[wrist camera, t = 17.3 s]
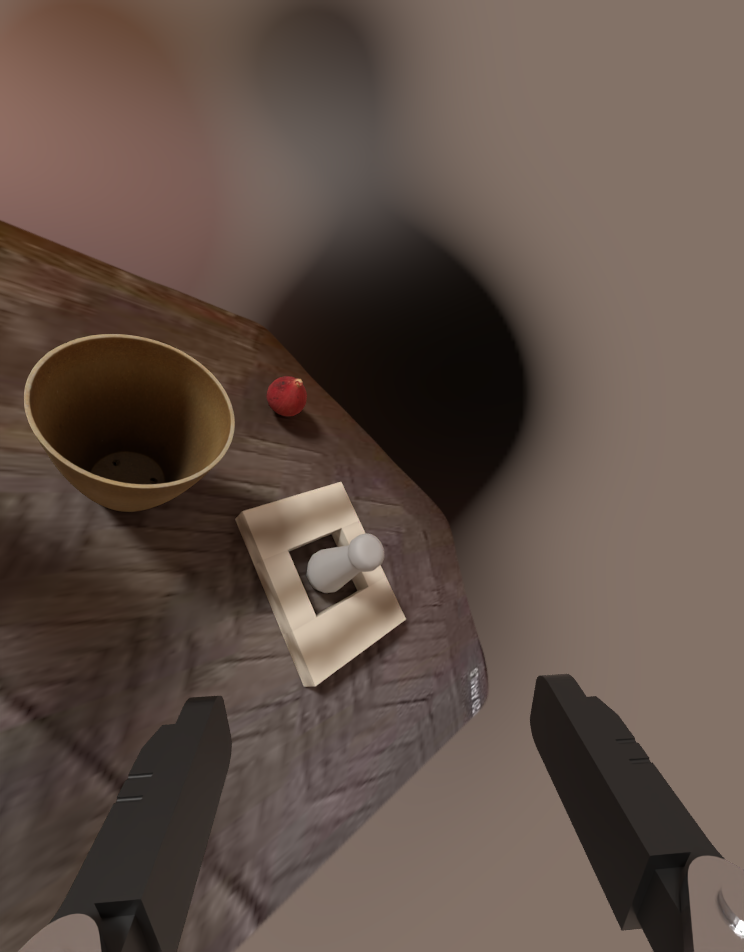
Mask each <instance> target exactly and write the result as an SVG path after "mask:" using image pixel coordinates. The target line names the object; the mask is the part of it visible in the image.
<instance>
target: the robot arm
mask: <svg viewBox="0 0 744 952" xmlns="http://www.w3.org/2000/svg"><path fill="white" fill-rule="evenodd" d="M530 725H531V731H532V736H533V739H534V742H535V744H536V747H537V749H538V751H539V754H540V756H541V758H542V760H543V762H544V764H545V766H546V769H547V771H548V773H549V775H550V777H551V779H552V781H553V784H554V786H555V788H556V790H557V792H558V794H559V797H560V799H561V801H562V803H563V805H564V807H565V809H566V811H567V814H568V816H569V818H570V820H571V822H572V825H573V827H574V829H575V831H576V833H577V835H578V837H579V840H580V842H581V844H582V846H583V848H584V850H585V852H586V855H587V857H588V859H589V861H590V863H591V865H592V868H593V870H594V872H595V874H596V876H597V878H598V880H599V882H600V885H601V887H602V889H603V891H604V893H605V895H606V898H607V900H608V902H609V904H610V906H611V908H612V910H613V913H614V915H615V917H616V919H617V921H618V923H619V925H620V927H621V930H632V929H643V931H644V933H645V935H646V937H647V939H648V941H649V943H650V945H651V947H652V949H653V951H652V952H744V870H743V869H742V868H740V867H738V866H737V865H735V864H733V863H731V862H729V861H727V860H725V859H724V858H723V857H722V856H721V854H720V853H719V852H718V851H717V850H716V849H715V847H714V846H713V845H712V844H711V842H710V841H709V840H708V838H707V837H706V836H705V834H704V833H703V831H702V830H701V829H700V827H699V826H698V824H697V823H696V822H695V820H694V819H693V818H692V816H691V815H690V813H689V812H688V811H687V809H686V808H685V807H684V805H683V804H682V802H681V801H680V800H679V798H678V797H677V796H676V794H675V793H674V791H673V790H672V789H671V787H670V786H669V785H668V783H667V782H666V780H665V779H664V778H663V776H662V775H661V773H660V772H659V771H658V769H657V768H656V767H655V765H654V764H653V763H651V762H650V760H649V757H648V756H647V754H646V753H645V751H644V750H643V749H642V747H641V746H640V744H639V743H636V741H635V738H634V736H633V735H632V733H631V732H630V731H629V730H628V728H627V727H626V725H625V724H624V722H623V721H622V720H621V718H620V717H619V716H618V715H617V714H616V713H615V712H614V711H613V710H612V709H610V708H609V707H608V706H607V705H606V704H605V703H603V702H602V701H601V700H600V699H599V698H597V697H596V696H593V697H586V695H585V694H584V692H583V691H582V689H581V688H580V686H579V685H578V683H577V682H576V681H575V679H574V678H573V677H572V676H571V675H569V674H558V675H543V676H538V677H537V680H536V685H535V691H534V697H533V703H532V709H531V715H530ZM231 748H232V741H231V734H230V729H229V724H228V719H227V714H226V710H225V705H224V700H223V698H222V696H209V697H193V698H189V699H188V700H187V701H186V703H185V704H184V706H183V708H182V711H181V713H180V715H179V717H178V719H177V722H176V724H171V725H162V726H161V727H160V728H159V730H158V731H157V732H156V733H155V734H154V735H153V736H152V737H151V739H150V740H149V741H148V742H147V743H146V744H145V745H144V746H143V748H142V749H141V751H140V753H139V755H138V757H137V759H136V761H135V763H134V765H133V767H132V769H131V771H130V773H129V777H128V779H127V780H126V781H125V783H124V784H123V786H122V788H121V790H120V792H119V794H118V796H117V801H116V803H114V804H113V806H112V808H111V810H110V812H109V814H108V816H107V818H106V820H105V822H104V824H103V826H102V828H101V830H100V832H99V834H98V835H97V837H96V839H95V841H94V843H93V845H92V847H91V849H90V851H89V853H88V855H87V857H86V859H85V861H84V863H83V865H82V867H81V869H80V871H79V873H78V875H77V877H76V879H75V881H74V883H73V884H72V886H71V888H70V890H69V892H68V894H67V896H66V898H65V900H64V902H63V903H62V905H61V907H60V909H59V910H58V912H57V913H56V915H55V916H54V918H53V919H52V920H51V922H50V923H49V924H48V925H47V926H46V927H44V928H43V929H42V930H40V931H39V932H38V933H37V934H35V935H34V936H33V937H32V938H31V939H30V940H29V941H28V942H27V943H26V944H25V945H24V946H23V947H22V948H21V949H20V950H19V951H18V952H177V949H178V945H179V942H180V938H181V934H182V931H183V927H184V924H185V920H186V917H187V913H188V910H189V906H190V903H191V899H192V895H193V892H194V888H195V885H196V881H197V878H198V874H199V871H200V867H201V864H202V860H203V857H204V853H205V849H206V846H207V842H208V839H209V835H210V832H211V828H212V825H213V821H214V818H215V814H216V811H217V807H218V803H219V800H220V796H221V793H222V789H223V786H224V782H225V779H226V775H227V772H228V768H229V764H230V758H231Z"/></svg>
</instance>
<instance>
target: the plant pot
mask: <svg viewBox="0 0 744 952" xmlns="http://www.w3.org/2000/svg"><path fill="white" fill-rule="evenodd" d="M24 407H25V412H26V416H27V419H28V421H29V424H30V426H31V428H32V430H33V432H34V434H35V435H36V437H37V439H38V440H39V442H40V444H41V445H42V447H43V448H44V450H45V451H46V453H47V455H48V456H49V458H50V459H51V461H52V462H53V464H54V465H55V466H56V467H57V469H58V470H59V471H60V472H61V474H62V475H63V476H64V477H65V478H66V479H67V480H68V481H69V482H70V483H71V484H72V485H73V486H74V487H75V488H76V489H77V490H79V491H80V492H81V493H82V494H84V495H85V496H87V497H88V498H89V499H91V500H92V501H94V502H96V503H98V504H100V505H102V506H104V507H106V508H109V509H112V510H116V511H123V512H134V511H142V510H146V509H150V508H153V507H156V506H159V505H161V504H163V503H165V502H168V501H169V500H171V499H173V498H175V497H177V496H178V495H180V494H182V493H183V492H185V491H186V490H187V489H189V488H190V487H192V486H193V485H194V484H195V483H197V482H198V481H199V480H200V479H201V478H203V477H204V476H205V475H206V474H207V473H208V472H209V471H210V470H211V469H212V468H213V467H214V466H215V465H216V464H217V463H218V462H219V461H220V460H221V459H222V458H223V456H224V455H225V453H226V452H227V450H228V448H229V446H230V444H231V441H232V438H233V435H234V427H235V421H234V412H233V408H232V405H231V402H230V400H229V397H228V396H227V394H226V392H225V390H224V388H223V387H222V385H221V384H220V382H219V381H218V380H217V379H216V378H215V376H214V375H213V374H212V373H211V372H210V371H209V370H207V369H206V368H205V367H204V366H203V365H202V364H200V363H199V362H198V361H196V360H195V359H193V358H192V357H190V356H189V355H187V354H185V353H184V352H182V351H180V350H178V349H176V348H174V347H171V346H169V345H167V344H164V343H161V342H158V341H155V340H151V339H148V338H143V337H138V336H131V335H122V334H104V335H93V336H88V337H83V338H79V339H76V340H73V341H70V342H67V343H65V344H63V345H61V346H59V347H57V348H55V349H53V350H52V351H50V352H49V353H47V354H46V355H45V356H44V357H43V358H42V359H41V360H40V361H39V362H38V363H37V364H36V365H35V367H34V368H33V370H32V371H31V373H30V375H29V377H28V379H27V382H26V386H25V391H24ZM113 462H116V464H117V465H114V464H113ZM151 479H155V480H156V481H152V480H151Z"/></svg>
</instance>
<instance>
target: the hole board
mask: <svg viewBox="0 0 744 952" xmlns="http://www.w3.org/2000/svg"><path fill="white" fill-rule="evenodd" d="M235 520H236V523H237V525H238V528H239V530H240V532H241V535H242V537H243V540H244V542H245V545H246V547H247V549H248V552H249V554H250V557H251V559H252V562H253V564H254V566H255V569H256V571H257V574H258V576H259V579H260V581H261V584H262V586H263V588H264V591H265V593H266V596H267V598H268V601H269V603H270V605H271V608H272V610H273V613H274V615H275V618H276V620H277V622H278V625H279V627H280V630H281V632H282V635H283V637H284V640H285V642H286V644H287V647H288V649H289V652H290V654H291V657H292V659H293V661H294V664H295V666H296V669H297V671H298V674H299V676H300V678H301V681H302V683H303V686H304V687H309V686H317V685H318V684H319V683H321V682H322V681H323V680H325V679H326V678H327V677H329V676H330V675H331V674H333V673H334V672H335V671H337V670H338V669H340V668H341V667H342V666H344V665H345V664H346V663H348V662H349V661H350V660H352V659H353V658H354V657H356V656H357V655H358V654H360V653H361V652H363V651H364V650H365V649H367V648H368V647H369V646H371V645H372V644H373V643H375V642H376V641H377V640H379V639H380V638H381V637H383V636H384V635H386V634H387V633H388V632H390V631H391V630H392V629H394V628H395V627H396V626H398V625H399V624H400V623H402V622H403V621H404V620H406V618H405V616H404V614H403V612H402V610H401V608H400V606H399V604H398V601H397V599H396V597H395V595H394V593H393V591H392V589H391V587H390V584H389V582H388V580H387V578H386V576H385V574H384V572H383V570H382V567H381V565H380V566H378V567H377V568H376V569H375V570H373V571H369V572H362V571H361V572H360V573H358V574H357V575H356V576H355V577H353V578H352V581H353V583H354V585H355V587H356V589H357V591H356V592H355V593H353V594H351V595H349V596H348V597H346V598H344V599H343V600H341V601H339V602H337V603H336V604H334V605H332V606H330V607H329V608H327V609H325V610H324V611H322V612H320V613H318V614H317V615H316V614H315V612H314V610H313V607H312V605H311V603H310V601H309V598H308V596H307V594H306V591H305V589H304V587H303V584H302V582H301V580H300V577H299V575H298V573H297V570H296V568H295V566H294V563H293V561H292V559H291V556H290V554H289V551H292V550H294V549H297V548H299V547H301V546H304V545H306V544H309V543H311V542H314V541H316V540H318V539H321V538H323V537H326V536H328V535H331V534H332V537H333V539H334V541H335V543H336V545H337V547H341V546H347V545H349V544H350V542H351V540H353V539H354V538H356V537H357V536H359V535H361V534H365V531H364V529H363V527H362V525H361V523H360V521H359V519H358V517H357V514H356V512H355V510H354V508H353V506H352V504H351V502H350V500H349V497H348V495H347V493H346V491H345V489H344V487H343V485H342V483H341V482H339V483H336V484H332V485H329V486H325V487H322V488H319V489H315V490H312V491H309V492H305V493H302V494H299V495H295V496H292V497H288V498H285V499H282V500H278V501H275V502H272V503H268V504H265V505H262V506H258V507H255V508H252V509H248V510H245V511H242V512H241V513H240V514H239V516H238V517H237V518H236V519H235Z"/></svg>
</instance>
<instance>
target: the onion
mask: <svg viewBox="0 0 744 952" xmlns="http://www.w3.org/2000/svg"><path fill="white" fill-rule="evenodd" d="M306 398H307V393H306V390H305V387H304V386H303V382H302V380H301V379H296V378H294V377H288V376H285V377H280V378H278V379H276V380H275V381H274V382H273V383H272V384H271V385H270V386H269V388H268V391H267V401H268V403H269V406H270V407H271V408H272V409H273V410H274V411H275V412H276V413H278V414H280V415H282V416H294V415H296V414H298V413H300V412H301V411H302V409H303V408H304V406H305V404H306Z"/></svg>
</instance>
